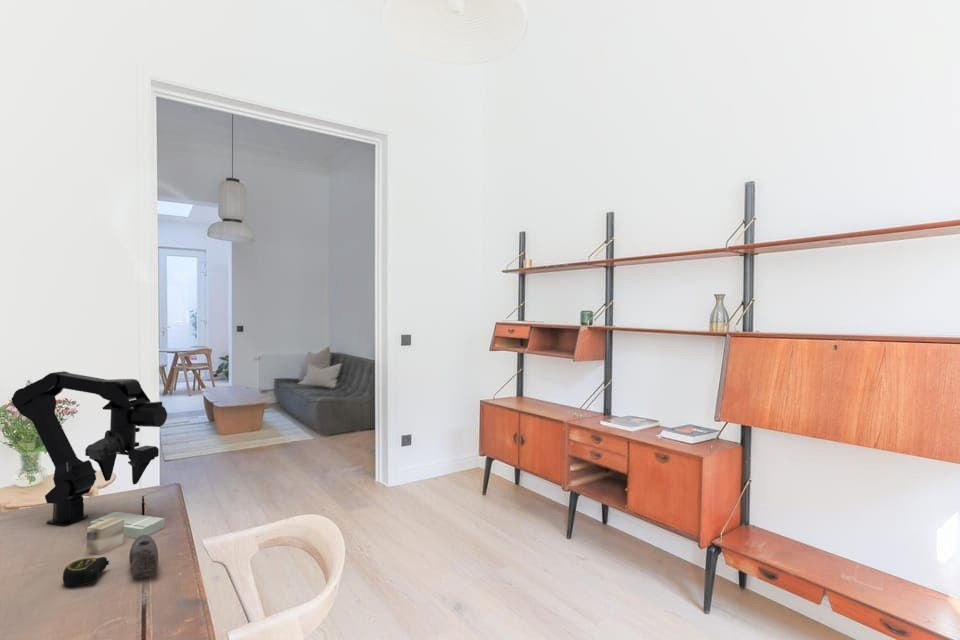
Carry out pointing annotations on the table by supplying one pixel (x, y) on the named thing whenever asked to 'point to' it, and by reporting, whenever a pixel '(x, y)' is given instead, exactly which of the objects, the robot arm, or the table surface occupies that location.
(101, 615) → the table surface
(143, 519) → the painted board
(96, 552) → the stacked beige grey blocks
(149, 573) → the perforated stone tool
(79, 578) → the tape measure
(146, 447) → the robot arm
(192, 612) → the table surface
